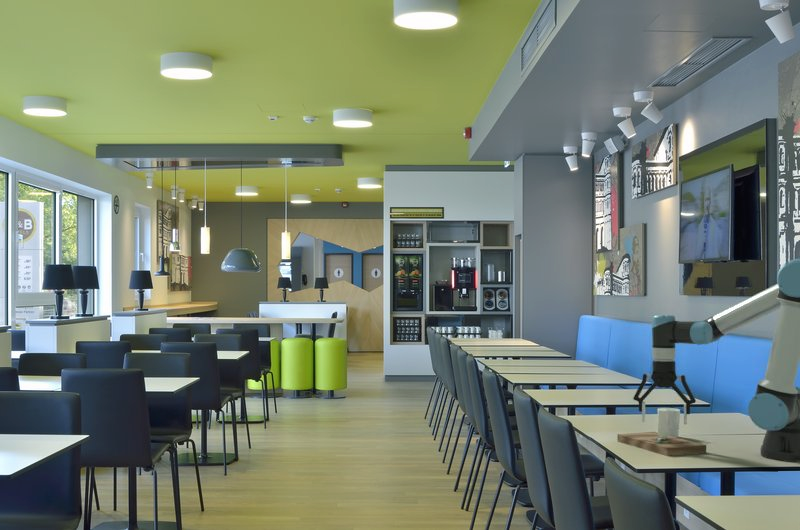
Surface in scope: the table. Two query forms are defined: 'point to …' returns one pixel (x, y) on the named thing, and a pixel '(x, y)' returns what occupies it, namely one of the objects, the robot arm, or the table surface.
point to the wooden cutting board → (661, 443)
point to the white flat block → (662, 424)
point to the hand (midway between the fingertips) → (664, 422)
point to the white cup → (673, 421)
